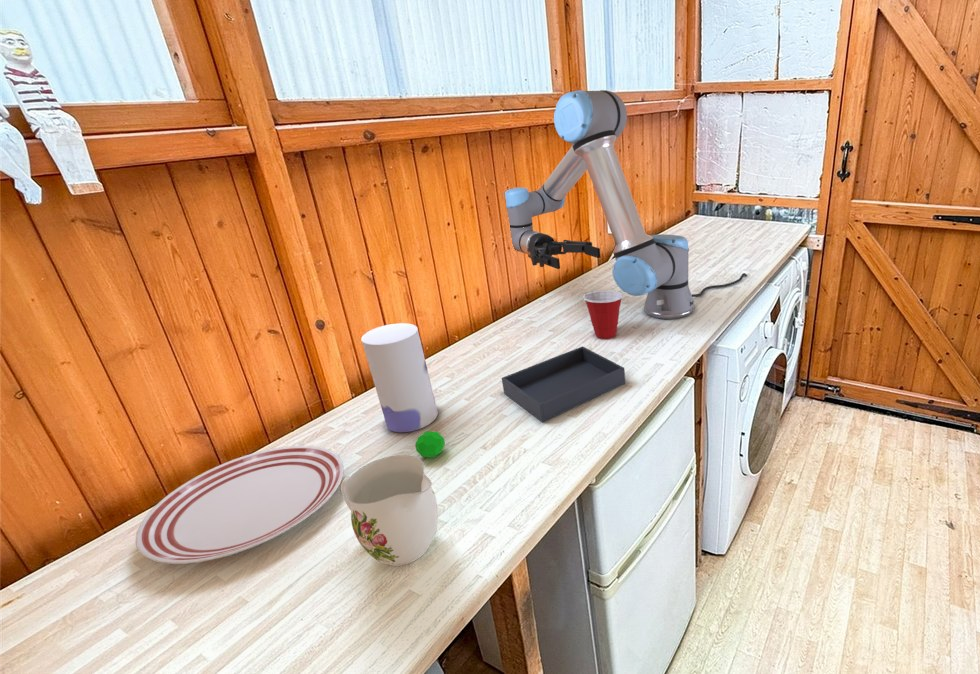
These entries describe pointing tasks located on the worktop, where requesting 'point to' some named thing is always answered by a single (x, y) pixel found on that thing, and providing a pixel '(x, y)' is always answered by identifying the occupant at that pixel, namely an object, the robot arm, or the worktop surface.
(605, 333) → the plastic cup
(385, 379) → the container
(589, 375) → the dark grey tray
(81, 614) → the worktop surface
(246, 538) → the dinner plate
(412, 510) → the pitcher
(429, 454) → the polyhedron
